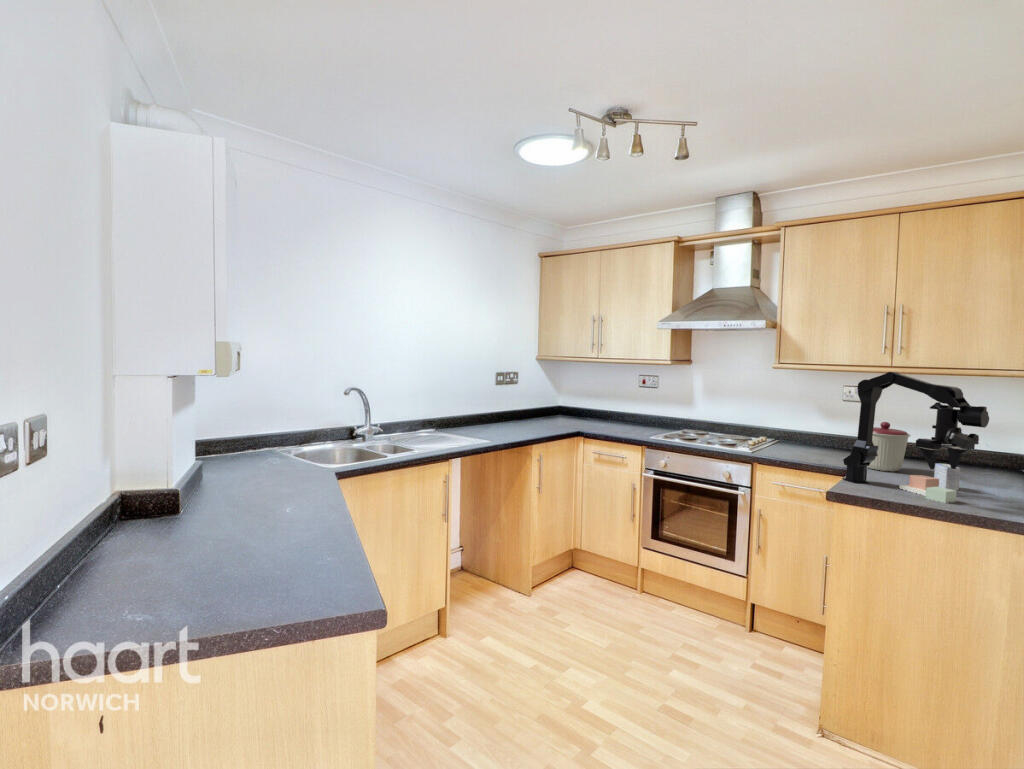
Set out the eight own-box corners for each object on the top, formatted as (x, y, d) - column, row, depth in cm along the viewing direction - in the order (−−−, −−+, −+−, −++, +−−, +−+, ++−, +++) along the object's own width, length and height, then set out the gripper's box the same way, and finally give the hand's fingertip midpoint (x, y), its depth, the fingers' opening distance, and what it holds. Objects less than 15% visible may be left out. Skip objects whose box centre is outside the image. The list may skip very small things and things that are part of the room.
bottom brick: (908, 486, 193) (909, 475, 193) (921, 485, 194) (922, 475, 194) (925, 490, 187) (925, 479, 187) (938, 490, 188) (939, 478, 188)
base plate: (925, 496, 185) (926, 491, 185) (899, 488, 194) (899, 484, 194) (948, 495, 187) (948, 491, 187) (920, 488, 197) (920, 484, 197)
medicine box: (959, 491, 195) (961, 467, 195) (945, 489, 196) (947, 467, 196) (946, 486, 203) (948, 463, 202) (932, 485, 204) (934, 462, 203)
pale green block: (945, 503, 176) (946, 491, 176) (925, 498, 181) (926, 487, 181) (955, 502, 178) (956, 490, 178) (935, 497, 184) (936, 486, 184)
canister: (883, 474, 221) (887, 424, 220) (847, 465, 239) (850, 419, 238) (918, 473, 225) (922, 425, 224) (880, 465, 243) (884, 419, 241)
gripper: (949, 426, 169) (945, 474, 169) (994, 427, 173) (989, 474, 174) (916, 422, 179) (912, 467, 180) (958, 422, 184) (954, 466, 184)
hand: (942, 468), depth 179 cm, fingers open, 9 cm apart
